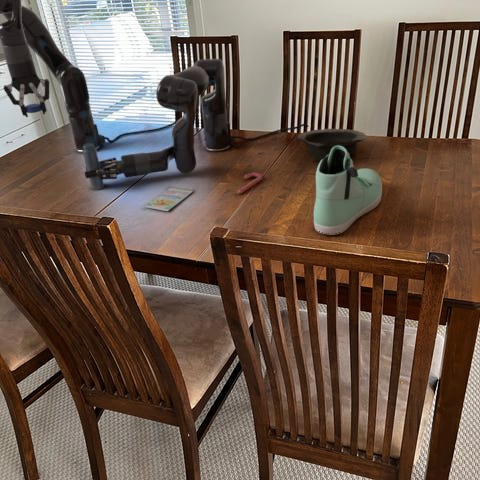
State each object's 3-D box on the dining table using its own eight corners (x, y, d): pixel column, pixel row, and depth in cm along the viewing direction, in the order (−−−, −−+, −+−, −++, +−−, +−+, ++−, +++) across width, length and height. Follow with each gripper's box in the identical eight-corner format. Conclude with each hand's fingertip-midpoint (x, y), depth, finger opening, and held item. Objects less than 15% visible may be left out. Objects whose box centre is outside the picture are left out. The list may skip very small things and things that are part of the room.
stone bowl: (324, 173, 160) (323, 146, 156) (284, 156, 180) (283, 132, 176) (382, 155, 169) (382, 129, 165) (338, 140, 189) (337, 117, 185)
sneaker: (389, 187, 148) (396, 123, 138) (356, 242, 123) (361, 168, 112) (346, 181, 154) (350, 119, 144) (306, 232, 129) (307, 161, 118)
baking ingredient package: (143, 206, 148) (170, 186, 159) (143, 207, 148) (170, 188, 159) (167, 210, 144) (192, 190, 156) (167, 211, 144) (193, 191, 156)
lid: (45, 109, 155) (43, 103, 154) (33, 113, 151) (32, 108, 151) (34, 108, 157) (33, 103, 156) (23, 112, 153) (21, 107, 153)
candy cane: (225, 192, 154) (224, 187, 153) (251, 174, 164) (250, 170, 163) (240, 195, 151) (240, 191, 150) (265, 177, 161) (265, 173, 160)
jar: (89, 187, 165) (79, 145, 157) (100, 183, 167) (90, 141, 159) (95, 190, 162) (85, 148, 154) (106, 186, 164) (97, 144, 156)
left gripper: (-6, 65, 141) (12, 122, 150) (44, 58, 145) (59, 113, 154) (-6, 61, 147) (11, 116, 156) (42, 54, 151) (57, 108, 160)
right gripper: (134, 147, 167) (84, 154, 165) (135, 162, 155) (81, 169, 153) (138, 167, 171) (89, 174, 169) (139, 183, 159) (87, 191, 157)
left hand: (35, 114), depth 155 cm, fingers closed on lid, 4 cm apart
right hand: (86, 172), depth 161 cm, fingers closed on jar, 4 cm apart
